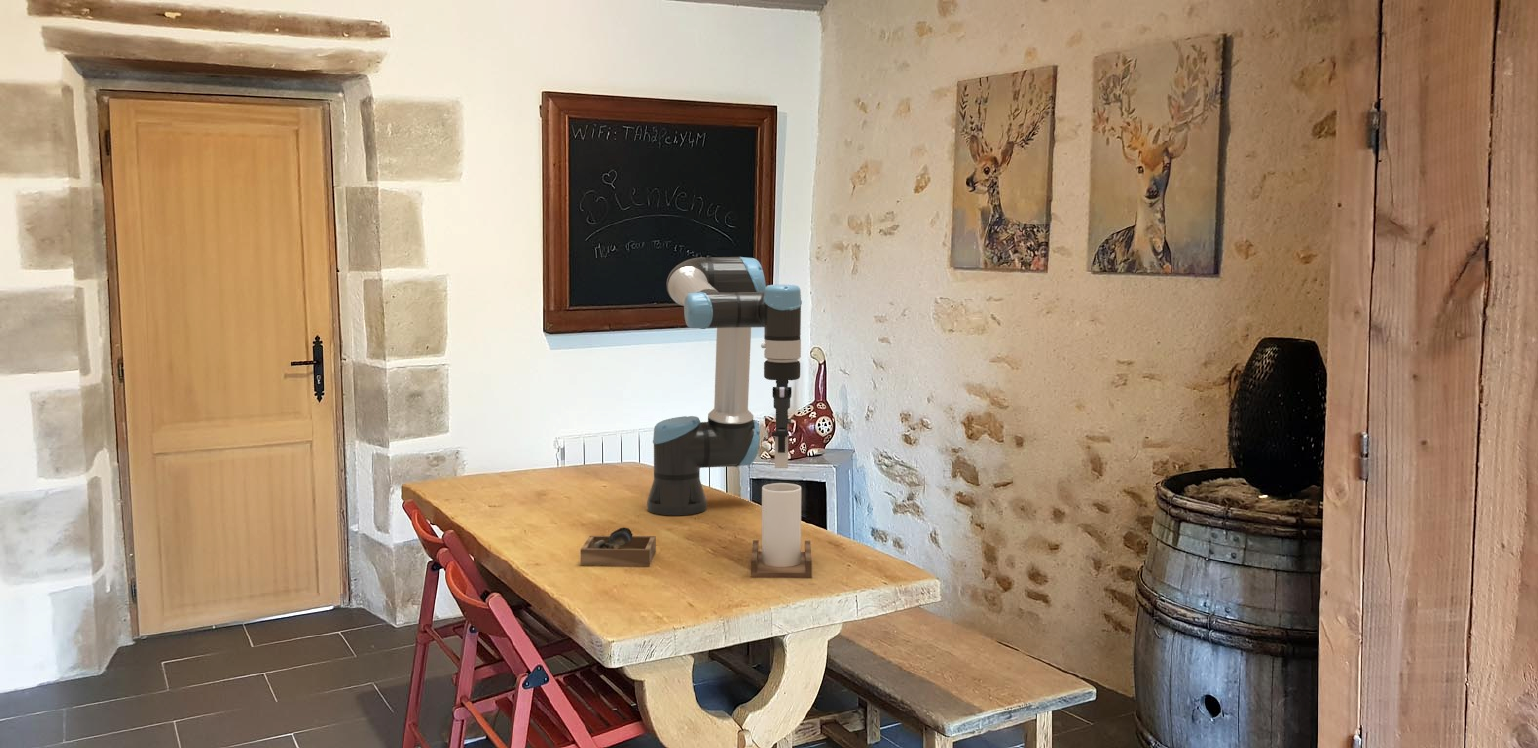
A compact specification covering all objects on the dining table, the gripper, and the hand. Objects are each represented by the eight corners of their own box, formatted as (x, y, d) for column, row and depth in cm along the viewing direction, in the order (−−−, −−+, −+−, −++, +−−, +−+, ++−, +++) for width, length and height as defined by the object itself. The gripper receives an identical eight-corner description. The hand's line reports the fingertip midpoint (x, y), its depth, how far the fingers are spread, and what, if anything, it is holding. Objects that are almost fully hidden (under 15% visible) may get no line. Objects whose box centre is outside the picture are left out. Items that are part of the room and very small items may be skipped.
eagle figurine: (633, 560, 241) (640, 541, 250) (613, 533, 240) (622, 515, 248) (604, 577, 243) (613, 558, 251) (584, 551, 241) (594, 532, 250)
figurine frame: (590, 551, 252) (589, 535, 251) (655, 551, 251) (655, 536, 251) (580, 566, 240) (580, 549, 240) (649, 566, 240) (649, 550, 240)
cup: (768, 568, 235) (768, 492, 233) (757, 558, 243) (757, 484, 241) (805, 565, 237) (806, 490, 236) (793, 555, 245) (794, 482, 243)
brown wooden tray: (753, 555, 248) (753, 540, 248) (810, 556, 248) (810, 540, 248) (750, 577, 232) (750, 560, 232) (811, 577, 232) (811, 561, 232)
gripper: (765, 353, 248) (764, 449, 250) (762, 367, 223) (762, 473, 226) (799, 353, 248) (799, 449, 250) (801, 367, 223) (800, 473, 225)
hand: (781, 461), depth 238 cm, fingers open, 13 cm apart
